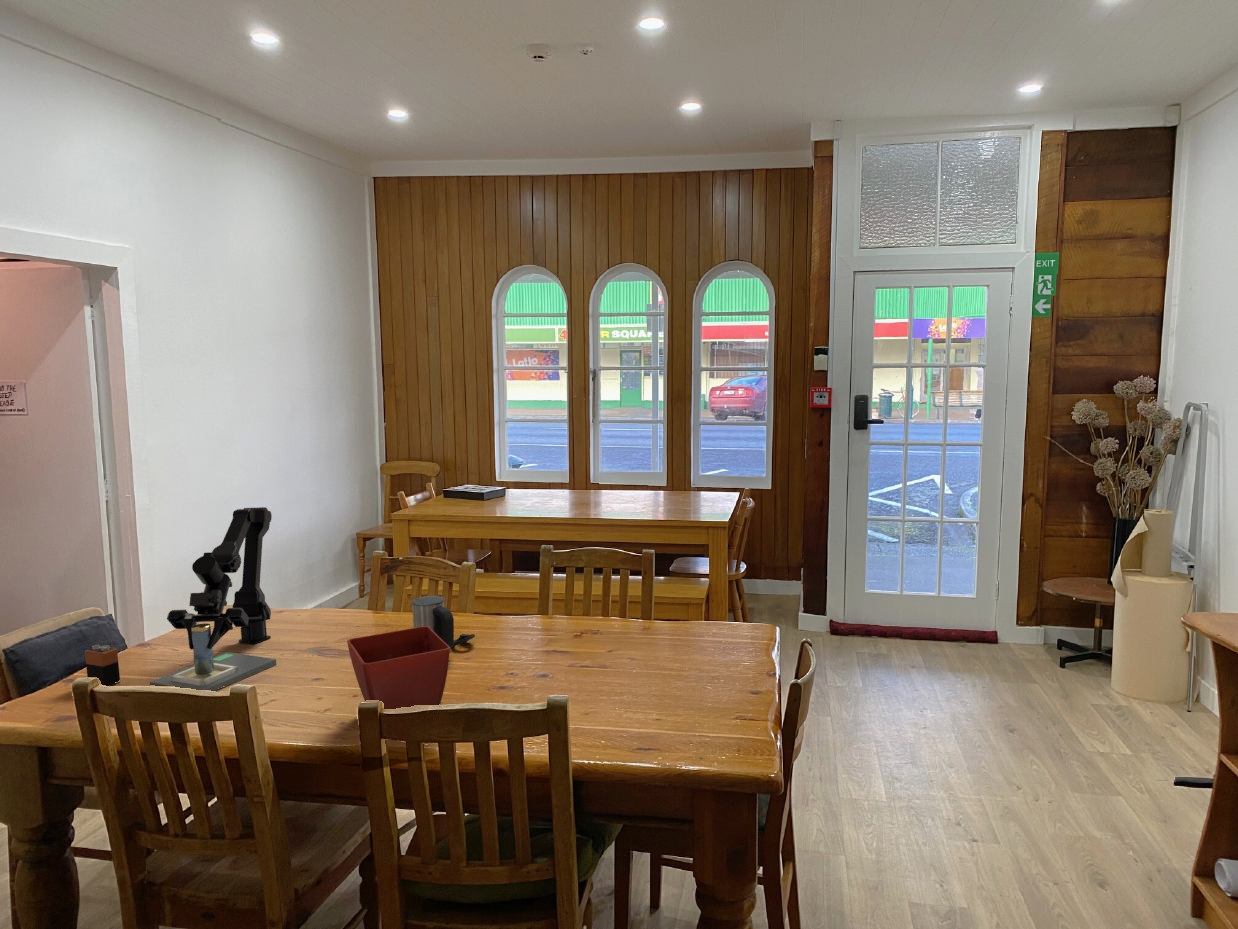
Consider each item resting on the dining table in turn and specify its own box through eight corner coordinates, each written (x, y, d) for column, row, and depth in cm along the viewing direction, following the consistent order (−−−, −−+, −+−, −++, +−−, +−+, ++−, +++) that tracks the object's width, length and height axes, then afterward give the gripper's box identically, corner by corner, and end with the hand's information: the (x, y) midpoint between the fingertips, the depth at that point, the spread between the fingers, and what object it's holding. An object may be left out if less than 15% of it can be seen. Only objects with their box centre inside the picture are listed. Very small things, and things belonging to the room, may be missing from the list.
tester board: (226, 657, 241) (225, 647, 240) (276, 664, 234) (275, 654, 233) (149, 687, 219) (149, 677, 219) (202, 697, 212) (201, 686, 211)
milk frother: (406, 655, 239) (403, 602, 237) (439, 638, 253) (436, 588, 251) (450, 661, 233) (448, 607, 232) (481, 642, 248) (479, 592, 246)
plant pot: (367, 739, 186) (362, 663, 184) (350, 709, 202) (346, 638, 200) (454, 720, 194) (451, 647, 192) (431, 692, 211) (428, 625, 209)
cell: (216, 668, 225) (212, 622, 223) (211, 674, 220) (208, 628, 219) (197, 669, 224) (193, 624, 222) (193, 675, 219) (189, 629, 218)
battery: (105, 688, 219) (101, 650, 218) (87, 685, 222) (83, 647, 221) (121, 682, 223) (117, 644, 222) (103, 679, 226) (99, 642, 225)
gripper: (167, 579, 223) (149, 635, 213) (240, 577, 223) (226, 632, 214) (183, 601, 232) (167, 655, 222) (254, 598, 232) (241, 652, 223)
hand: (200, 648), depth 220 cm, fingers closed on cell, 4 cm apart
